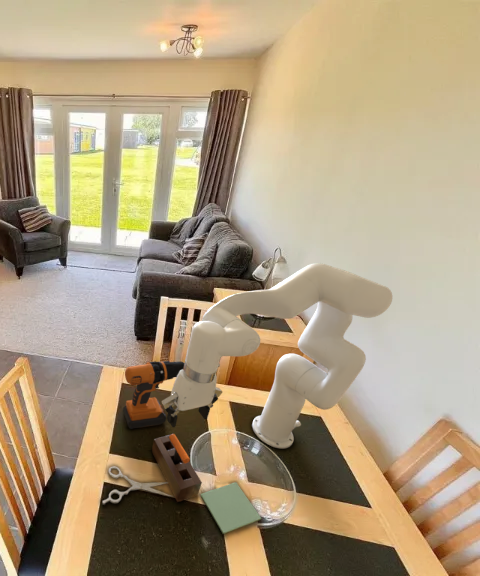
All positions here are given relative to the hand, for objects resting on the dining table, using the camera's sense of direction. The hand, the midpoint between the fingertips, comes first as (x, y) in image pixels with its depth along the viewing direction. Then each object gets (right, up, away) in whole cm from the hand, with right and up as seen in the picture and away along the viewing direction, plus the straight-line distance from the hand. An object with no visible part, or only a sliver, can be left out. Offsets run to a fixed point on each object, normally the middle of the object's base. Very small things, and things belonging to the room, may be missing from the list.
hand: (187, 418), depth 84 cm
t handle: (-1, -20, +10) cm, 23 cm away
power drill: (-5, -11, +28) cm, 30 cm away
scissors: (-12, -22, +6) cm, 26 cm away
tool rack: (-1, -20, +10) cm, 23 cm away
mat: (+12, -25, +2) cm, 28 cm away
